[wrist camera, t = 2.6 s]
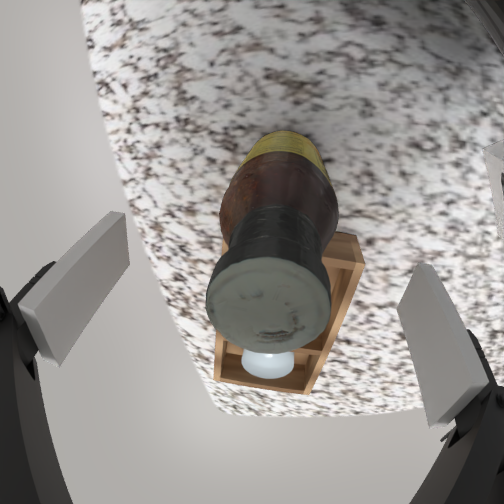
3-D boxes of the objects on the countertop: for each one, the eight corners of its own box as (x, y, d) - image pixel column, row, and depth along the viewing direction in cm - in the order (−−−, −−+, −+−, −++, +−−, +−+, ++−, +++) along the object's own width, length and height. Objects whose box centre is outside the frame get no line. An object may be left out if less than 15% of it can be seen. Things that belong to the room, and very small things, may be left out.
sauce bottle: (307, 203, 28) (314, 397, 12) (241, 183, 28) (163, 357, 11) (331, 137, 25) (402, 274, 8) (261, 114, 25) (184, 206, 8)
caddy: (233, 213, 30) (222, 239, 26) (356, 235, 29) (365, 263, 25) (221, 350, 41) (213, 380, 36) (309, 364, 40) (309, 394, 36)
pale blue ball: (248, 320, 36) (244, 342, 33) (299, 328, 36) (299, 351, 33) (243, 352, 39) (239, 374, 36) (289, 360, 39) (288, 381, 36)
